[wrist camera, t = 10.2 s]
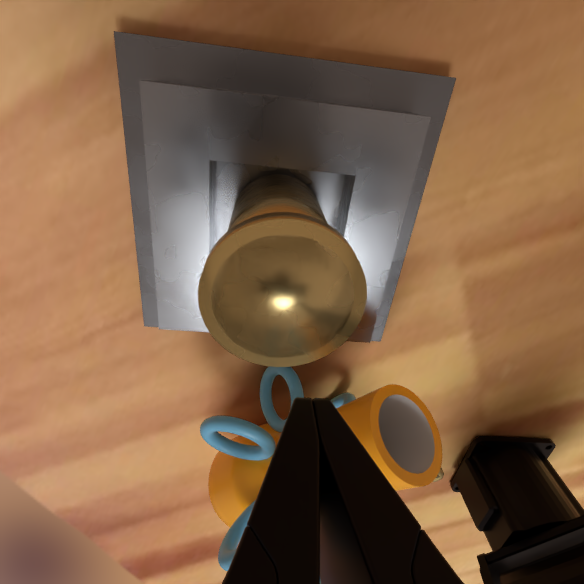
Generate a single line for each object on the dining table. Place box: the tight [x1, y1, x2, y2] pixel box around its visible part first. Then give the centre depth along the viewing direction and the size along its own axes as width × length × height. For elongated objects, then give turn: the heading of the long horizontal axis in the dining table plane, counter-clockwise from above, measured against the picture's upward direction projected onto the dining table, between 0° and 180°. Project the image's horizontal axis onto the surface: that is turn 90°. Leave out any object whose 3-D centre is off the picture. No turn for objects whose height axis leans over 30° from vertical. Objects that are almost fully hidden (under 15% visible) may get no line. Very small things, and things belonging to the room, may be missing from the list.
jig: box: [114, 31, 456, 342], centre depth 18 cm, size 14×14×3 cm
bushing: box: [198, 175, 367, 367], centre depth 15 cm, size 5×5×8 cm
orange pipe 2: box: [200, 366, 442, 584], centre depth 20 cm, size 12×10×15 cm
